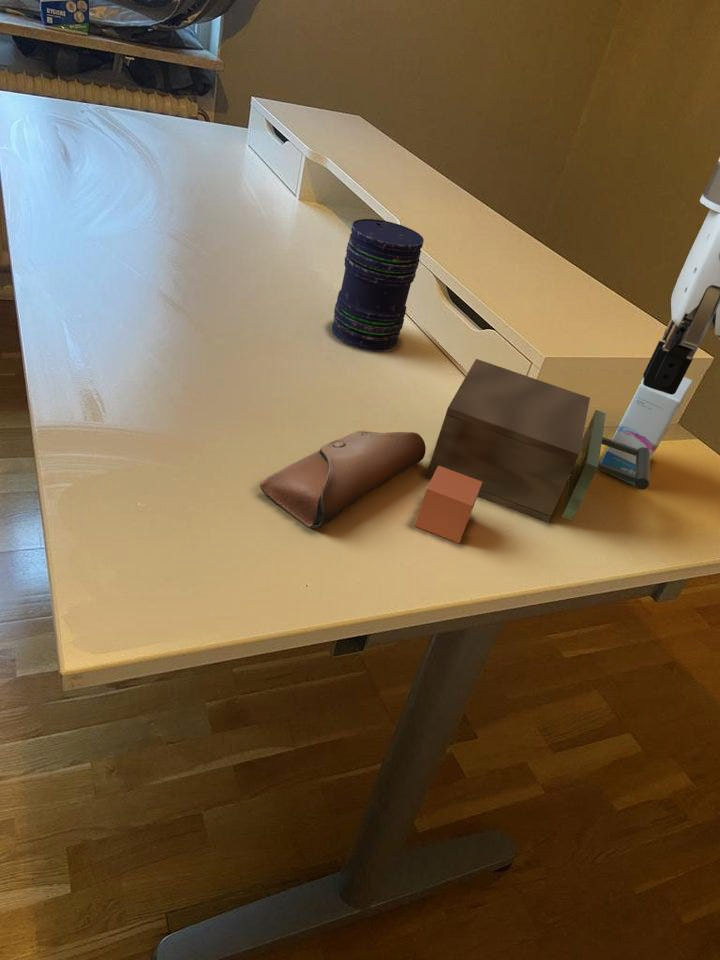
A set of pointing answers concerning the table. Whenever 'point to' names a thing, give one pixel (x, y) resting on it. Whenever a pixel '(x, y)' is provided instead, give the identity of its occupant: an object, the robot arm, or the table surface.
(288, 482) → the sunglasses case
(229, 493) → the table surface
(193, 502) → the table surface
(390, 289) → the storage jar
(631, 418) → the ink box
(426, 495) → the block
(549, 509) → the cabinet
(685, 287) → the robot arm
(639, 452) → the drawer
